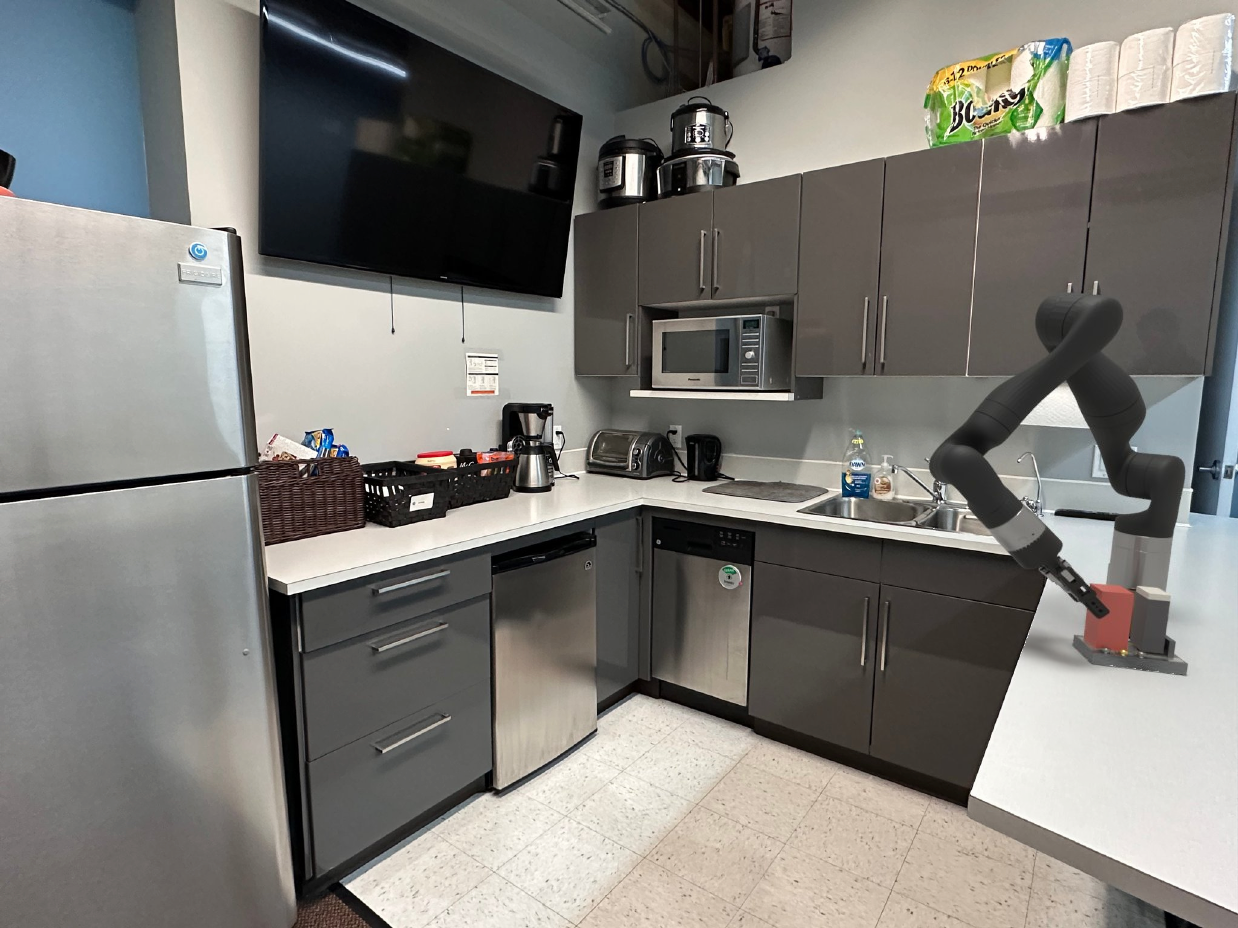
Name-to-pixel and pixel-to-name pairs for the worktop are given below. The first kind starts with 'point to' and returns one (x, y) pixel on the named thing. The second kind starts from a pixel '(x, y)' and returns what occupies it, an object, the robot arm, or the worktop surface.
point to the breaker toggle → (1150, 619)
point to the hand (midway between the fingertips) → (1092, 606)
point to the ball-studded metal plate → (1133, 657)
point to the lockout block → (1110, 618)
